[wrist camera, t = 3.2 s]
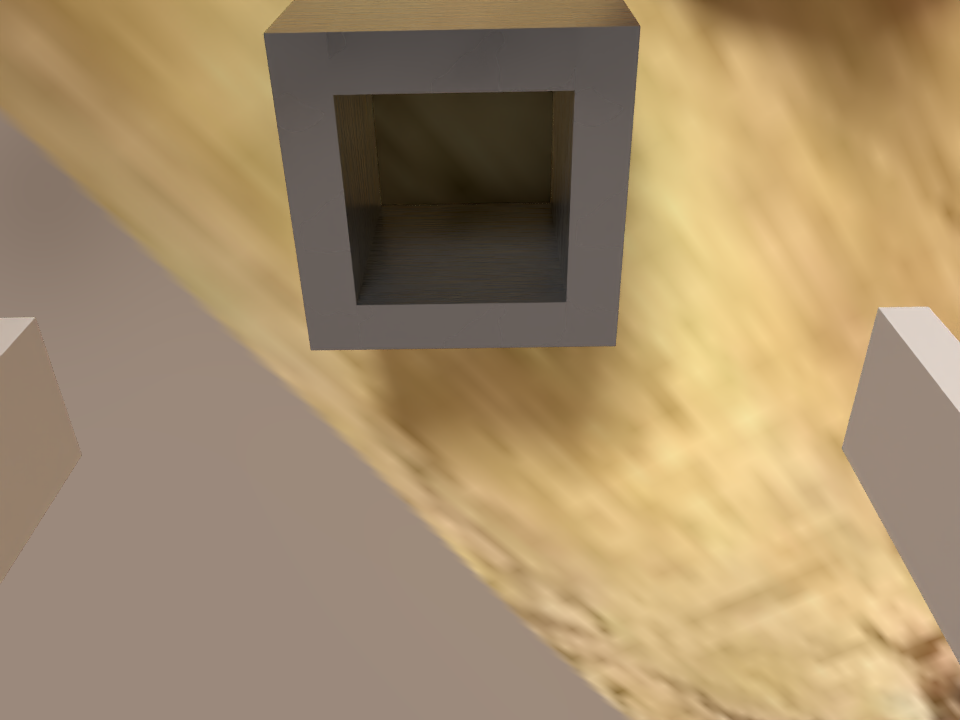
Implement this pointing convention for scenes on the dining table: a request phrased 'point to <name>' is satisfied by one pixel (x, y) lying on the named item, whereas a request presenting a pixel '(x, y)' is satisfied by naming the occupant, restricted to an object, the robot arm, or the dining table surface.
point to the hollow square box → (455, 227)
